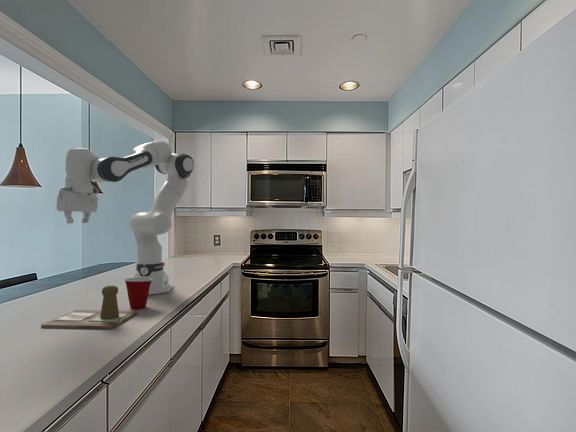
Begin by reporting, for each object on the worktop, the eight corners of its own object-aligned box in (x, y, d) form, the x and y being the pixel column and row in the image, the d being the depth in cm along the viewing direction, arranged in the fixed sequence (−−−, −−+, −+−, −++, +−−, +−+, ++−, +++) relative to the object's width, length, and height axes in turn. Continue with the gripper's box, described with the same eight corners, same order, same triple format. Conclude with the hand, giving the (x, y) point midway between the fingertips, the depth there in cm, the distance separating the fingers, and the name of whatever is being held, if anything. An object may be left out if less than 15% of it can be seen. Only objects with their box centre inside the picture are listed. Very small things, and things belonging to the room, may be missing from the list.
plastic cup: (158, 305, 146) (158, 276, 146) (140, 312, 135) (141, 281, 135) (136, 303, 148) (136, 275, 148) (117, 309, 138) (117, 279, 138)
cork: (111, 320, 120) (111, 288, 120) (96, 318, 122) (96, 287, 121) (122, 315, 126) (123, 284, 126) (108, 314, 127) (108, 283, 127)
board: (76, 312, 134) (76, 309, 134) (137, 313, 133) (137, 310, 133) (41, 327, 116) (41, 323, 116) (111, 329, 115) (112, 325, 115)
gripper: (68, 186, 128) (68, 223, 128) (100, 190, 149) (100, 222, 149) (51, 186, 128) (51, 223, 128) (86, 190, 149) (85, 222, 149)
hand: (77, 223), depth 139 cm, fingers open, 8 cm apart
